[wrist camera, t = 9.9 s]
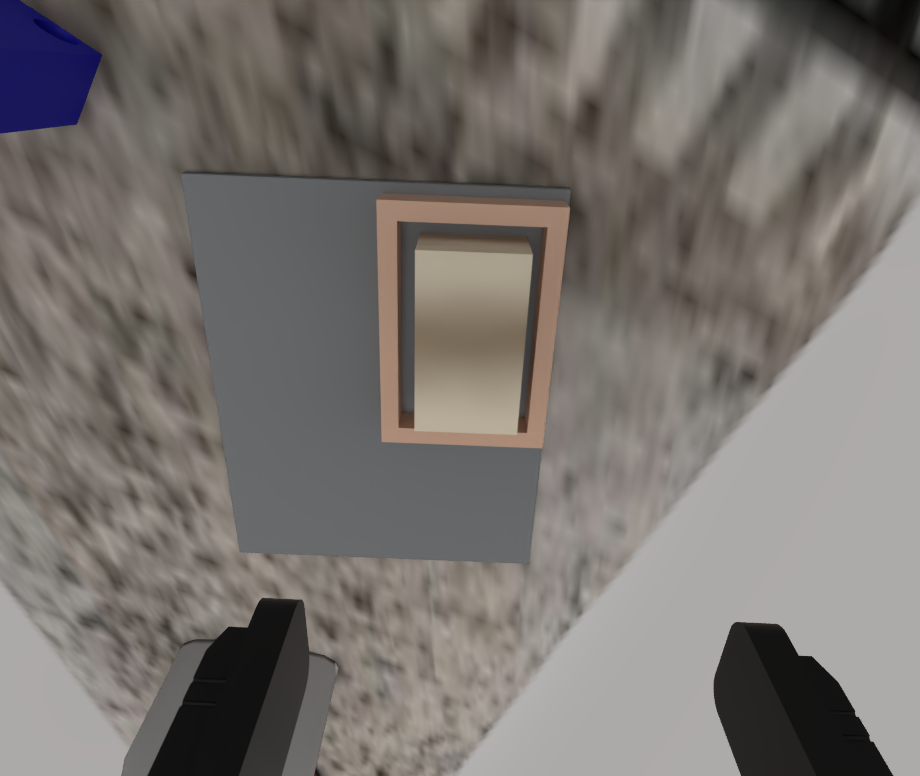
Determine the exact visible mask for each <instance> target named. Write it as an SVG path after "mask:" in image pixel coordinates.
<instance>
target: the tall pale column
mask: <svg viewBox="0 0 920 776" xmlns="http://www.w3.org/2000/svg"><path fill="white" fill-rule="evenodd" d="M214 641H215V640H193V641H190V642H187V643H184V644H183V646H182V647H181V649H180V650H179V652H178V654H177V656H176V659H175V661H174V663H173V665H172V667H171V669H170V671H169V673H168V675H167V677H166V679H165V681H164V683H163V684H162V686H161V688H160V690H159V692H158V694H157V696H156V698H155V700H154V702H153V704H152V706H151V708H150V710H149V712H148V714H147V715H146V717H145V719H144V721H143V723H142V725H141V727H140V729H139V731H138V733H137V735H136V737H135V739H134V741H133V743H132V745H131V747H130V749H129V751H128V753H127V755H126V757H125V759H124V764H123V770H122V775H121V776H147V775H148V773H149V771H150V769H151V767H152V764H153V762H154V760H155V758H156V756H157V754H158V752H159V749H160V747H161V745H162V743H163V741H164V739H165V737H166V735H167V732H168V730H169V728H170V726H171V724H172V722H173V720H174V717H175V715H176V713H177V711H178V709H179V707H180V706H182V703H183V698H184V696H185V694H186V692H187V690H188V688H189V685H190V683H192V682H193V677H194V675H195V673H196V670H197V668H198V666H199V664H200V662H201V660H202V658H203V656H204V653H205V651H206V649H207V648H208V647H209V646H210V645H211V644H212V643H213V642H214ZM337 671H338V666H337V665H336V663H335V662H334V661H333V660H331V659H329V658H327V657H326V656H324V655H319V654H315V653H310V652H309V673H308V680H307V686H306V690H305V694H304V698H303V701H302V705H301V708H300V712H299V716H298V719H297V723H296V726H295V730H294V734H293V737H292V741H291V744H290V748H289V752H288V755H287V759H286V762H285V766H284V770H283V773H282V776H314V774H315V769H316V765H317V760H318V756H319V751H320V747H321V742H322V738H323V733H324V729H325V725H326V720H327V715H328V711H329V706H330V701H331V697H332V692H333V688H334V684H335V679H336V676H337Z"/></svg>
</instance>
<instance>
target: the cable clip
mask: <svg viewBox="0 0 920 776" xmlns="http://www.w3.org/2000/svg"><path fill="white" fill-rule="evenodd" d="M101 57H102V54H100V53H99V52H97V51H95V50H94V49H92V48H91V47H89V46H88V45H86V44H85V43H83V42H82V41H80V40H79V39H77V38H76V37H74V36H73V35H71V34H70V33H68V32H67V31H65V30H64V29H62V28H61V27H59V26H58V25H56V24H55V23H53V22H52V21H50V20H48V19H47V18H45V17H44V16H42V15H41V14H39V13H38V12H36V11H35V10H33V9H32V8H30V7H29V6H27V5H26V4H24V3H23V2H21V1H20V0H0V133H8V132H17V131H25V130H33V129H42V128H50V127H59V126H67V125H76V124H77V122H78V119H79V117H80V114H81V111H82V108H83V106H84V103H85V100H86V98H87V95H88V92H89V89H90V87H91V84H92V81H93V78H94V76H95V73H96V70H97V68H98V65H99V62H100V59H101Z"/></svg>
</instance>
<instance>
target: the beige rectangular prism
mask: <svg viewBox="0 0 920 776" xmlns="http://www.w3.org/2000/svg"><path fill="white" fill-rule="evenodd" d="M532 260H533V253H532V250H531V247H530V245H529V242H528V239H527V236H501V235H476V234H450V233H425V232H421V233H420V236H419V239H418V242H417V245H416V248H415V401H414V431H426V432H452V433H478V434H504V435H517V428H518V417H519V406H520V395H521V383H522V372H523V361H524V350H525V339H526V327H527V316H528V305H529V294H530V282H531V271H532Z"/></svg>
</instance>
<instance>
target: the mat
mask: <svg viewBox="0 0 920 776" xmlns="http://www.w3.org/2000/svg"><path fill="white" fill-rule="evenodd" d="M181 178H182V184H183V191H184V197H185V204H186V210H187V217H188V223H189V229H190V236H191V242H192V249H193V255H194V261H195V268H196V274H197V281H198V287H199V293H200V300H201V306H202V313H203V319H204V326H205V332H206V338H207V345H208V351H209V358H210V364H211V370H212V377H213V383H214V390H215V396H216V402H217V409H218V415H219V422H220V428H221V435H222V441H223V447H224V454H225V460H226V467H227V473H228V479H229V486H230V492H231V499H232V505H233V511H234V518H235V524H236V531H237V537H238V544H239V550H240V552H247V553H273V554H298V555H323V556H348V557H373V558H398V559H423V560H448V561H473V562H498V563H523V564H529V556H530V547H531V539H532V530H533V521H534V512H535V503H536V495H537V486H538V477H539V468H540V459H541V451H542V448H519V447H494V446H470V445H445V444H420V443H395V442H382V437H381V391H380V346H379V300H378V255H377V209H376V199H377V198H378V197H379V195H380V194H381V193H389V194H413V195H437V196H461V197H485V198H509V199H533V200H557V201H566V203H567V204H568V205H569V204H570V195H571V189H570V188H562V187H538V186H514V185H490V184H466V183H442V182H418V181H394V180H370V179H346V178H322V177H298V176H274V175H250V174H226V173H202V172H184V173H181ZM421 232H425V233H450V234H476V235H501V236H527V239H528V242H529V245H530V247H531V250H532V253H533V260H532V271H531V282H530V294H529V305H528V316H527V327H526V339H525V350H524V361H523V372H522V383H521V395H520V406H519V417H525V409H526V399H527V388H528V378H529V368H530V357H531V347H532V337H533V326H534V316H535V306H536V295H537V285H538V274H539V264H540V254H541V243H542V233H543V227H526V226H502V225H478V224H453V223H429V222H405V221H401V377H402V412H404V413H414V401H415V248H416V245H417V242H418V239H419V236H420V233H421Z"/></svg>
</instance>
